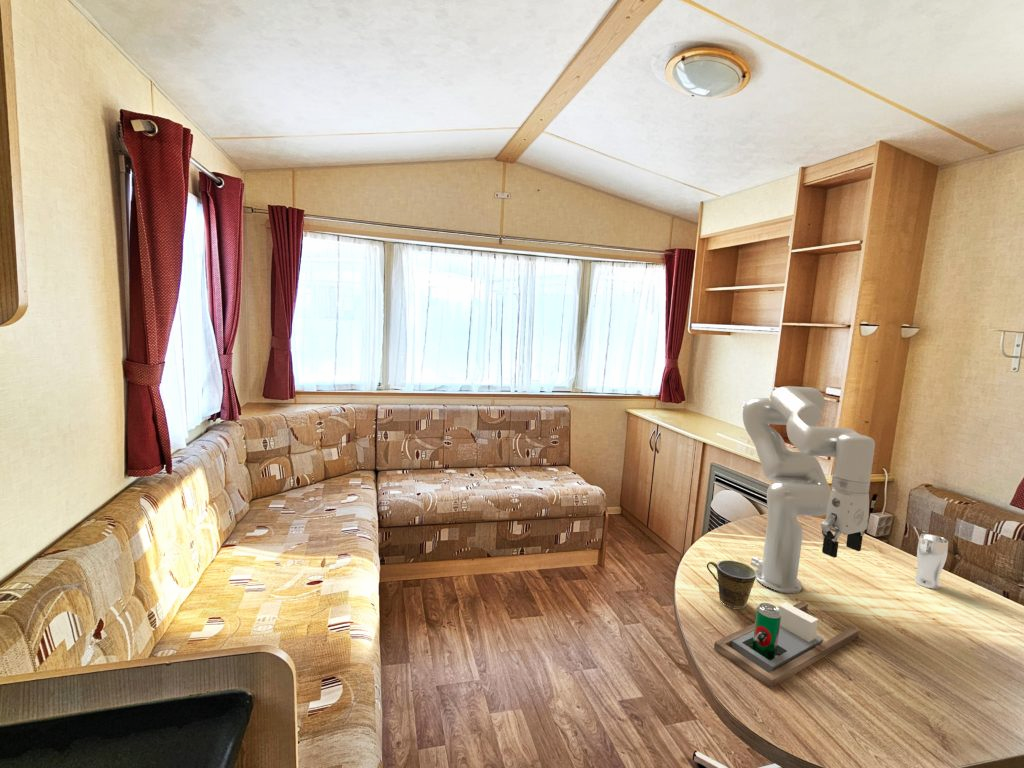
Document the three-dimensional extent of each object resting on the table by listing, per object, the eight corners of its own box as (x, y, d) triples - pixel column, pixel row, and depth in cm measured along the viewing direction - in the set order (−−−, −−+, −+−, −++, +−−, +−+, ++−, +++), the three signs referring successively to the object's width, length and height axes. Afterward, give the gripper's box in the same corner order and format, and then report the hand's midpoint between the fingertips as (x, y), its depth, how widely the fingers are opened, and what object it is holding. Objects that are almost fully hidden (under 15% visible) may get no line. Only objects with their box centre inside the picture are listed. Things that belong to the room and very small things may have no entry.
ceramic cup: (757, 603, 137) (761, 569, 136) (745, 617, 130) (749, 582, 129) (710, 584, 146) (714, 552, 145) (697, 597, 139) (700, 564, 138)
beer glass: (917, 586, 150) (924, 540, 148) (908, 576, 157) (916, 531, 155) (945, 592, 148) (953, 545, 146) (935, 581, 154) (943, 536, 152)
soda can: (778, 664, 112) (784, 616, 111) (755, 660, 113) (760, 612, 112) (771, 650, 117) (777, 603, 116) (749, 646, 118) (754, 600, 117)
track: (713, 648, 117) (714, 640, 117) (801, 607, 136) (802, 600, 136) (771, 688, 105) (772, 679, 105) (858, 636, 124) (859, 629, 124)
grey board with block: (731, 648, 117) (734, 621, 116) (781, 623, 128) (785, 598, 127) (771, 675, 108) (775, 646, 108) (822, 646, 119) (825, 619, 118)
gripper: (844, 493, 112) (835, 564, 114) (887, 486, 119) (878, 553, 121) (812, 483, 119) (804, 551, 121) (855, 477, 126) (846, 540, 128)
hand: (841, 551), depth 121 cm, fingers open, 9 cm apart
